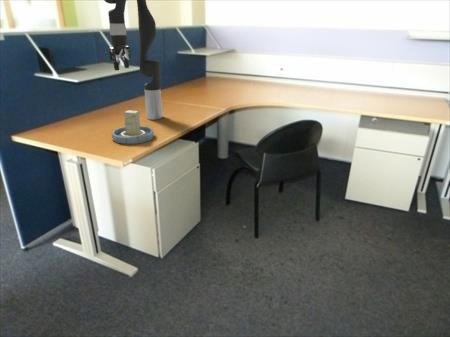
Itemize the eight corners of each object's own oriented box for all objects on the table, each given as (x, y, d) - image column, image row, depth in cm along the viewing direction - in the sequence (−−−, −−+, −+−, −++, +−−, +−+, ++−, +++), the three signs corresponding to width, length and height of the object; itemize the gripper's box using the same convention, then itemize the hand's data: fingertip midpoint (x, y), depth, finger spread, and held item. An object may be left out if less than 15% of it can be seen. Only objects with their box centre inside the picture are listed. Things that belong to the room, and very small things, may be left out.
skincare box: (125, 135, 172) (123, 112, 168) (129, 133, 176) (127, 109, 171) (137, 136, 171) (135, 113, 166) (141, 134, 175) (139, 110, 170)
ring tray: (127, 129, 186) (126, 123, 184) (160, 133, 180) (160, 127, 179) (104, 141, 168) (103, 135, 167) (140, 146, 163) (139, 139, 161)
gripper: (120, 33, 171) (123, 66, 178) (102, 34, 159) (106, 70, 165) (133, 33, 169) (136, 67, 175) (116, 34, 156) (120, 71, 163)
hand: (122, 69), depth 170 cm, fingers open, 8 cm apart
